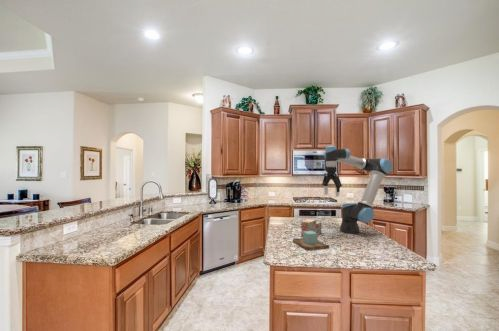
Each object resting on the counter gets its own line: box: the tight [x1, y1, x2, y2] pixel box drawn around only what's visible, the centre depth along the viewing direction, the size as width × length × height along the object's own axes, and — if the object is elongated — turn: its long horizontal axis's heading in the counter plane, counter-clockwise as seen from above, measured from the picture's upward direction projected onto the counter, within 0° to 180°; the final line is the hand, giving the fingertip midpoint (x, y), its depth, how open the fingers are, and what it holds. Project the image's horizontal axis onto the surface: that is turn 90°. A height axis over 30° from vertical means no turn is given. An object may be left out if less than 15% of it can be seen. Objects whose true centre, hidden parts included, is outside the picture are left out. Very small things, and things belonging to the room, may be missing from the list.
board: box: [292, 237, 330, 251], centre depth 173 cm, size 16×20×2 cm
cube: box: [303, 231, 318, 245], centre depth 173 cm, size 7×7×7 cm
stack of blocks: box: [300, 218, 322, 238], centre depth 197 cm, size 21×6×12 cm, turn 139°
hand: (331, 195), depth 189 cm, fingers open, 13 cm apart
